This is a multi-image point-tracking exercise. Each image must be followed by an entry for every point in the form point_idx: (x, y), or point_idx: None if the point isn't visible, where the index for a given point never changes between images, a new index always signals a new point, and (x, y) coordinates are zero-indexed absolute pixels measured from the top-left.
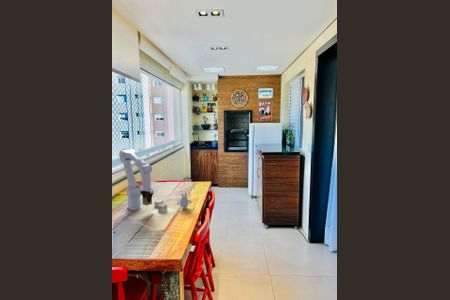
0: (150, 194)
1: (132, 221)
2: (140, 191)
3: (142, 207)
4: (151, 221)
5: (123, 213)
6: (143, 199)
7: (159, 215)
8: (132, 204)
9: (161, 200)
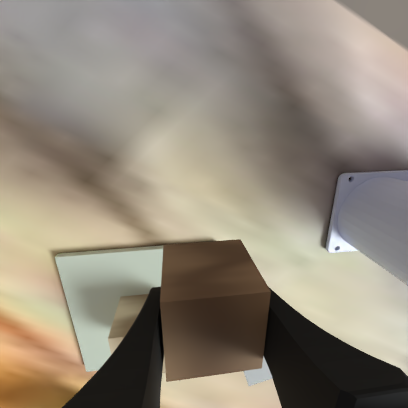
0: None
1: (136, 56)
2: (405, 397)
3: (327, 248)
4: (21, 175)
5: (364, 94)
6: (230, 281)
7: (81, 265)
8: (397, 195)
9: (262, 380)
